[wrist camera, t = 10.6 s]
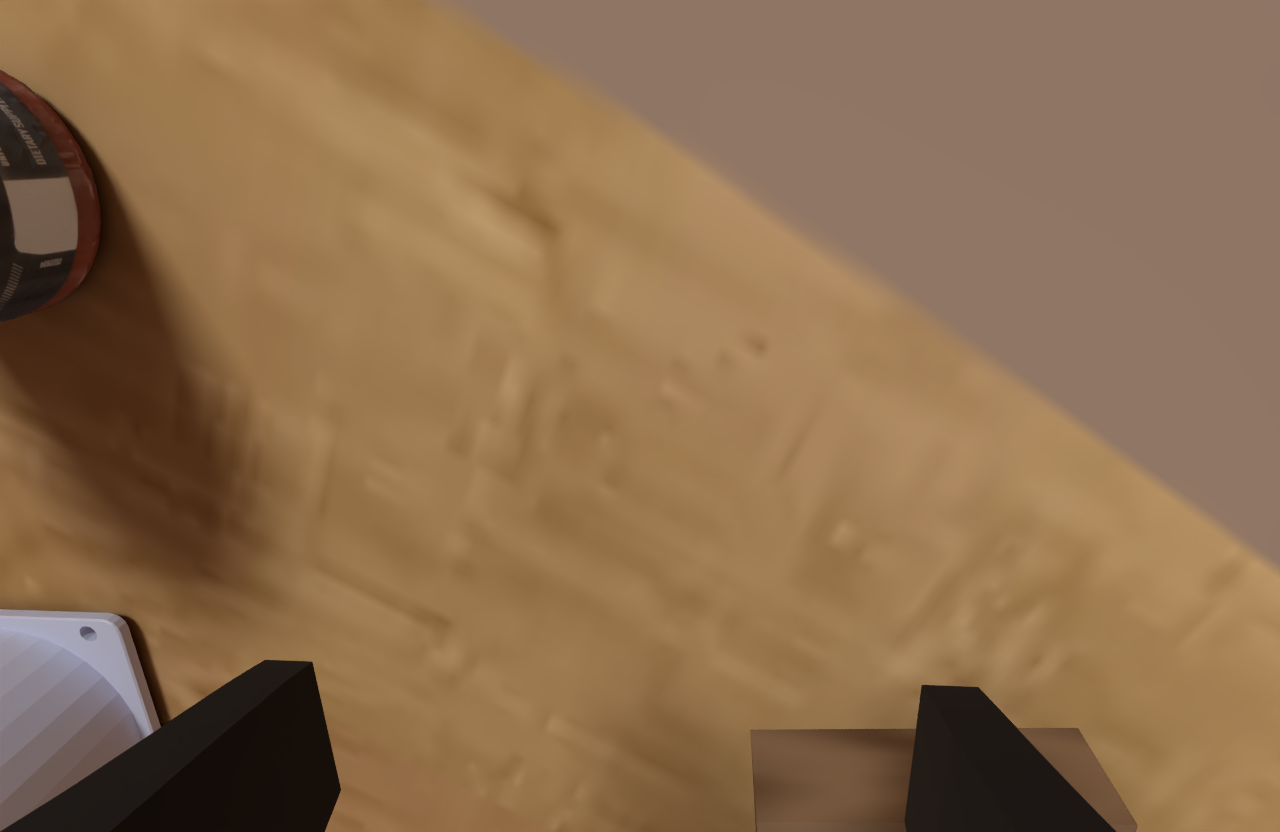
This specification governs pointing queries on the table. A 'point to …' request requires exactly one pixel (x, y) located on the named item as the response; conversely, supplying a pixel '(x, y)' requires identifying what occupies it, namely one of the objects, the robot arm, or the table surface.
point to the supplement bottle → (41, 205)
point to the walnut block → (886, 778)
